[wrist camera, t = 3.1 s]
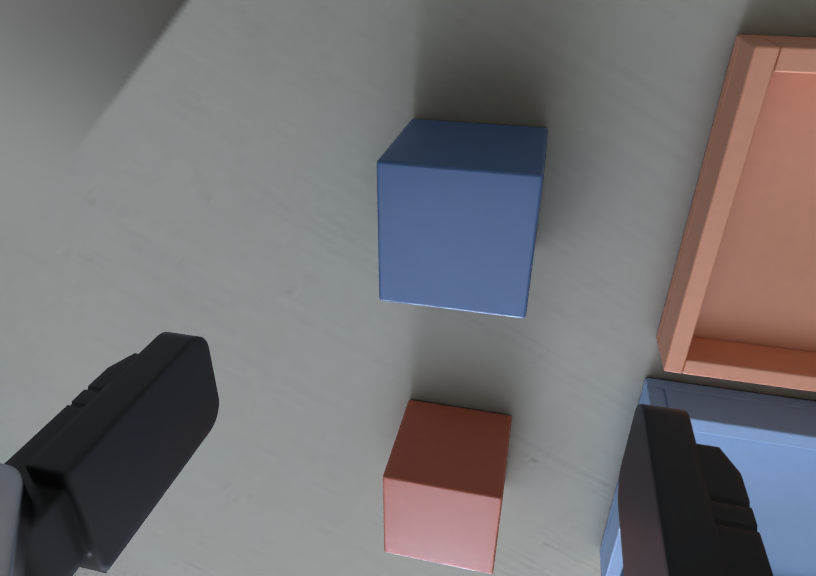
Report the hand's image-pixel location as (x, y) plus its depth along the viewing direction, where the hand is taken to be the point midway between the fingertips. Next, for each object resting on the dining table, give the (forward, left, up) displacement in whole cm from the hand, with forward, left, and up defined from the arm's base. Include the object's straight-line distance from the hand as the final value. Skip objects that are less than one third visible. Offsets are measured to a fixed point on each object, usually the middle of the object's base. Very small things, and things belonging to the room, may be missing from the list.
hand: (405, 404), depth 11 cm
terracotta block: (0, -12, -11) cm, 16 cm away
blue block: (0, 0, -11) cm, 11 cm away
